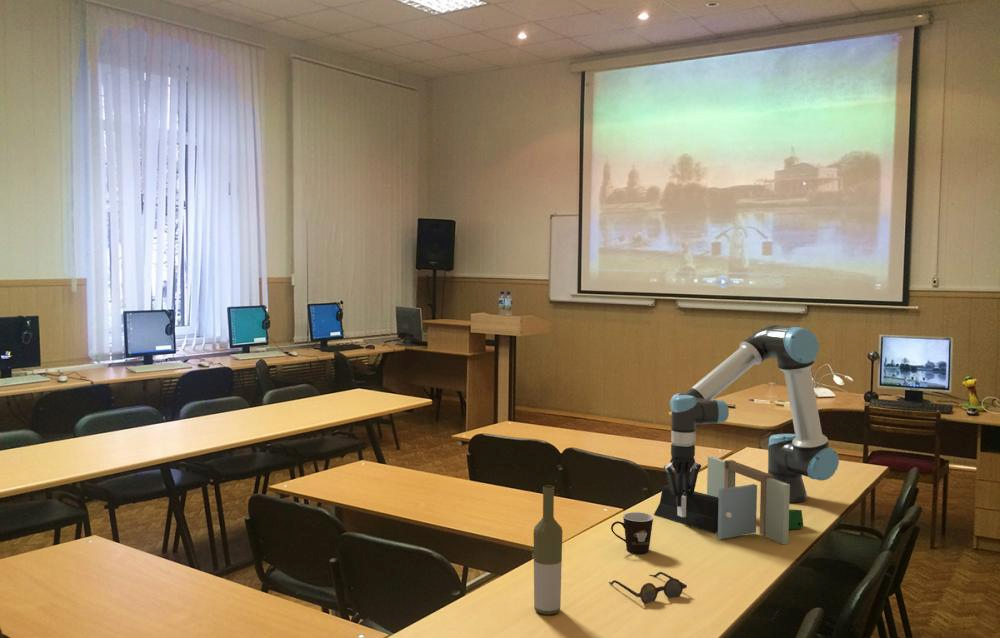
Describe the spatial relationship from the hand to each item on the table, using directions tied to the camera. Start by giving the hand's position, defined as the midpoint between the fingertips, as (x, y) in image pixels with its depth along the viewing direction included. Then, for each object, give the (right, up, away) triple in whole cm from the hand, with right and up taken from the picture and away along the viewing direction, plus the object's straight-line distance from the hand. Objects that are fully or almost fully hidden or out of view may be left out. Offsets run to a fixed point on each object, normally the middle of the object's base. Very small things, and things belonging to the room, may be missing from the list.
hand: (681, 515), depth 245 cm
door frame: (+21, -3, -1) cm, 21 cm away
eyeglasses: (-22, -6, -51) cm, 56 cm away
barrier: (+4, -3, +3) cm, 6 cm away
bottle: (-47, -6, -64) cm, 80 cm away
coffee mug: (-20, -4, -23) cm, 31 cm away
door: (+15, -3, -12) cm, 19 cm away
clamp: (+32, -3, -2) cm, 32 cm away
